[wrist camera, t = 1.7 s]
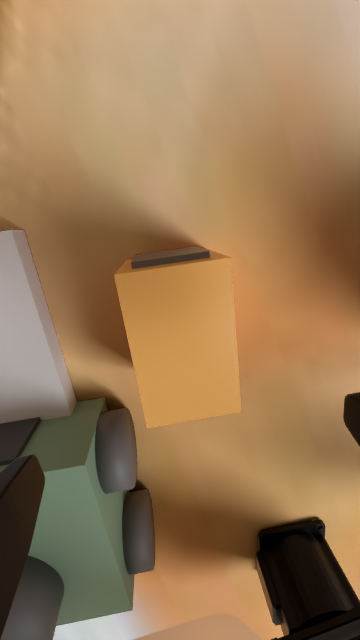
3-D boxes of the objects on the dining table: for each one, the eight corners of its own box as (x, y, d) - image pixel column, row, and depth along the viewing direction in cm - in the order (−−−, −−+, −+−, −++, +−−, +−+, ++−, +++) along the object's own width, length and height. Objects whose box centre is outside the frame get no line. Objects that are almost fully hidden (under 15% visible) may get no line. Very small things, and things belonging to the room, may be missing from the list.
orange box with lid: (204, 243, 17) (230, 250, 11) (216, 359, 20) (241, 411, 14) (125, 254, 17) (112, 267, 11) (148, 370, 20) (146, 428, 14)
